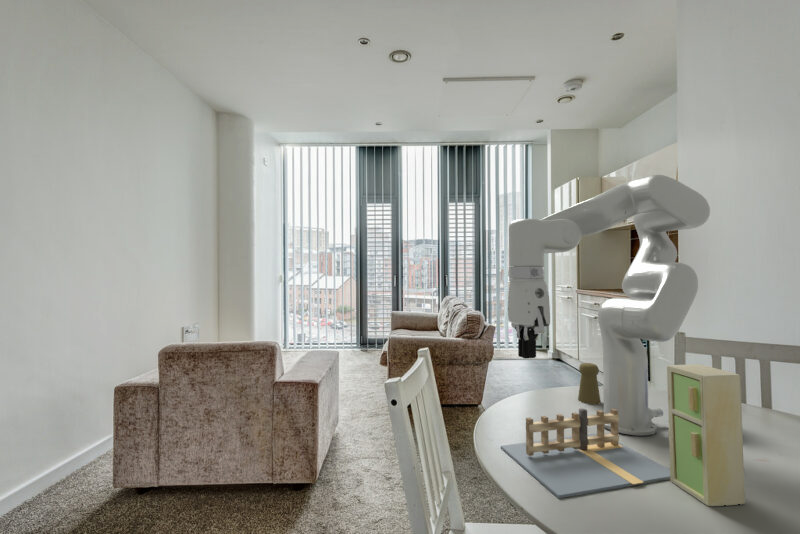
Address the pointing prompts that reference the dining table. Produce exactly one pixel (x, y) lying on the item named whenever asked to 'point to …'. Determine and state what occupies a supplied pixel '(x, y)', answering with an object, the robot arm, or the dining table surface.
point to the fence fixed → (598, 428)
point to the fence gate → (549, 425)
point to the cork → (589, 384)
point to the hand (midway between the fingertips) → (527, 356)
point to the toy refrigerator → (706, 433)
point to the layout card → (588, 468)
